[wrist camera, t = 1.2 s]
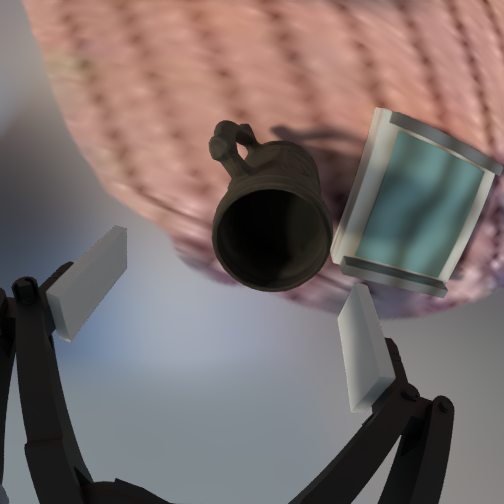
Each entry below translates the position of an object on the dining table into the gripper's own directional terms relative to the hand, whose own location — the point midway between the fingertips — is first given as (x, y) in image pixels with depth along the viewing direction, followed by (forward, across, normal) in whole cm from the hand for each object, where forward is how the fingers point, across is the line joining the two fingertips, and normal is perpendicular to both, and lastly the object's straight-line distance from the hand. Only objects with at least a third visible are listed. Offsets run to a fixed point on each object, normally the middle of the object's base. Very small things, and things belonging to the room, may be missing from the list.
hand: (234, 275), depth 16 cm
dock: (+27, +22, +1) cm, 35 cm away
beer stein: (+27, 0, 0) cm, 27 cm away
